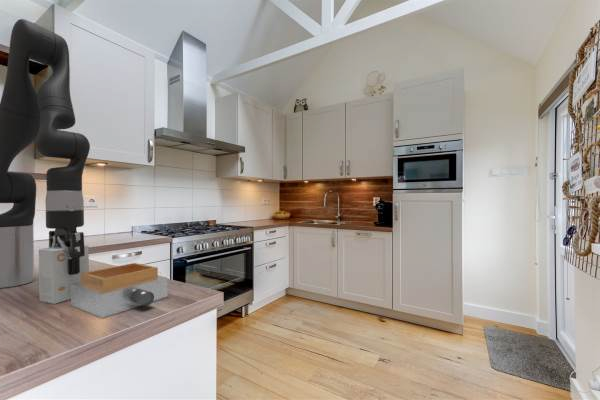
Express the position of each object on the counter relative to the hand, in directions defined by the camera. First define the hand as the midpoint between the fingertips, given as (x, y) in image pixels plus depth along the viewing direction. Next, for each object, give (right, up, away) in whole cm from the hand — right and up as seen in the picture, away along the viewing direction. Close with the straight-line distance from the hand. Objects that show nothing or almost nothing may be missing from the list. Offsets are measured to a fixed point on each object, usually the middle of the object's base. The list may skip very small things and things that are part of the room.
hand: (66, 272), depth 72 cm
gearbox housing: (+17, -6, -4) cm, 19 cm away
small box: (0, -7, 0) cm, 7 cm away
